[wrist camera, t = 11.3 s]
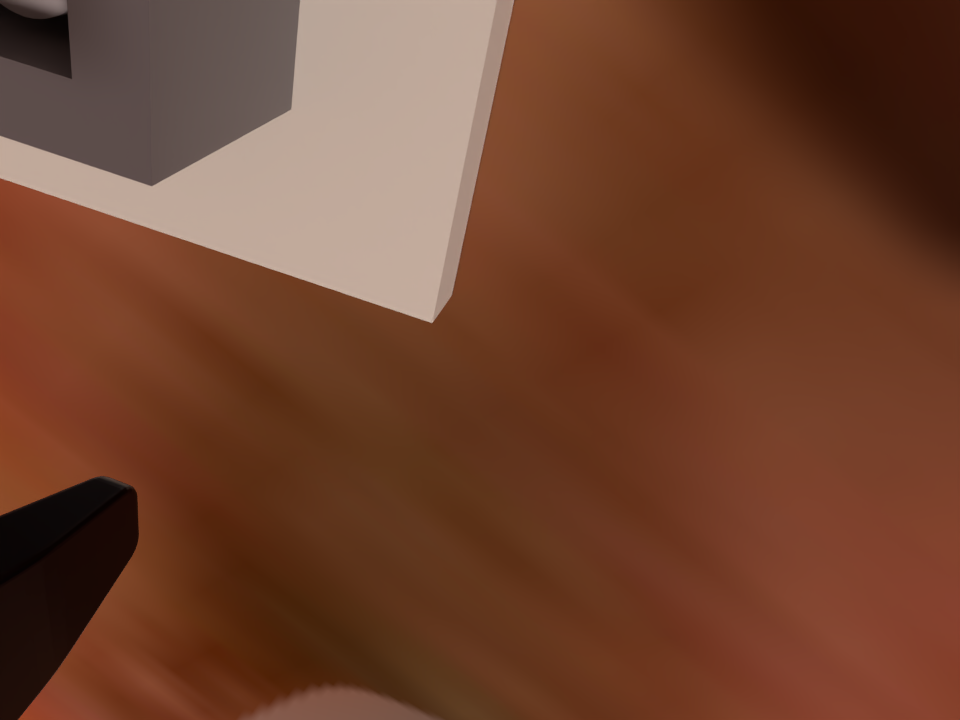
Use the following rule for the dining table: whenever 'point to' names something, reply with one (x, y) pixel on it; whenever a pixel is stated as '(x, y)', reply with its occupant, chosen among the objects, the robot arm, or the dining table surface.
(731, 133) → the dining table surface
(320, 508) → the dining table surface
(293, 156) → the base plate
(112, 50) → the grey box housing
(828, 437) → the dining table surface
